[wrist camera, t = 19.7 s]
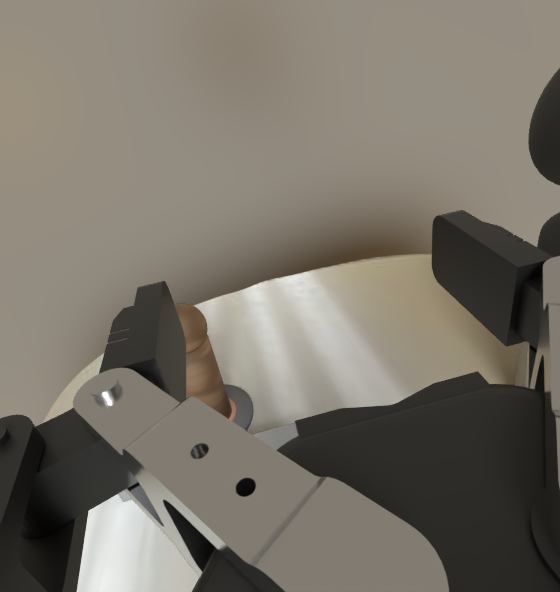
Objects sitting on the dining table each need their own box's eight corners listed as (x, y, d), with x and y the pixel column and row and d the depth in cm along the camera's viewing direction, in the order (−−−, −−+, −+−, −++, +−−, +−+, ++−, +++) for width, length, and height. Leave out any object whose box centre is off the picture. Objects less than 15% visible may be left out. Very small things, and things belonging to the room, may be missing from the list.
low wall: (122, 501, 44) (112, 484, 42) (124, 488, 45) (114, 471, 44) (309, 450, 46) (305, 431, 44) (305, 439, 47) (301, 420, 45)
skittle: (203, 395, 54) (165, 292, 46) (241, 400, 52) (208, 294, 44) (182, 428, 50) (136, 321, 42) (222, 435, 48) (182, 325, 40)
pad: (197, 383, 57) (195, 380, 57) (265, 392, 54) (264, 389, 53) (156, 444, 50) (154, 440, 49) (232, 459, 46) (231, 456, 46)
